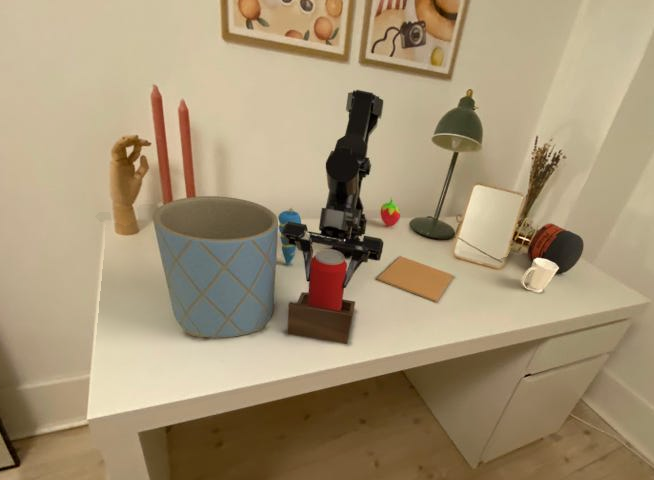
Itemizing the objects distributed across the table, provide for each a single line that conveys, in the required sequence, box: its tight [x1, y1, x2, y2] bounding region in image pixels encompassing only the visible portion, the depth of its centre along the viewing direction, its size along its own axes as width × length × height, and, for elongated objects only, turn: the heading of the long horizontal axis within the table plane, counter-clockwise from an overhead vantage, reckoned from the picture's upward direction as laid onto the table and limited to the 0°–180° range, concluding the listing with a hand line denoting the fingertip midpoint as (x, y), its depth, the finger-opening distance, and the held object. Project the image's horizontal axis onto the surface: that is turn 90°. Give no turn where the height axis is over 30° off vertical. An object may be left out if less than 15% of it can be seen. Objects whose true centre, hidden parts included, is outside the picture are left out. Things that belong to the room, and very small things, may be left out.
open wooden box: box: [287, 291, 356, 345], centre depth 75 cm, size 12×12×7 cm
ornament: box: [277, 206, 302, 266], centre depth 89 cm, size 5×5×15 cm
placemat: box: [377, 256, 454, 303], centre depth 100 cm, size 16×16×1 cm
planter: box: [152, 195, 279, 339], centre depth 68 cm, size 19×19×20 cm
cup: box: [520, 258, 559, 293], centre depth 104 cm, size 7×10×8 cm
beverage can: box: [307, 248, 348, 311], centre depth 72 cm, size 7×7×12 cm
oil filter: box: [527, 222, 585, 275], centre depth 118 cm, size 13×12×13 cm
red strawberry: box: [380, 196, 401, 227], centre depth 123 cm, size 6×7×10 cm
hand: (325, 284), depth 71 cm, fingers closed on beverage can, 7 cm apart
